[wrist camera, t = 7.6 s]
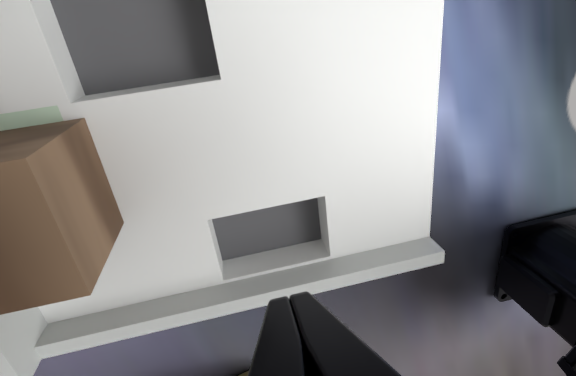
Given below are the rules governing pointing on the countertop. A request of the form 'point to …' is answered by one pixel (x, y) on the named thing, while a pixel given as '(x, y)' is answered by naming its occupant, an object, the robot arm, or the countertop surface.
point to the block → (53, 215)
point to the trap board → (230, 151)
